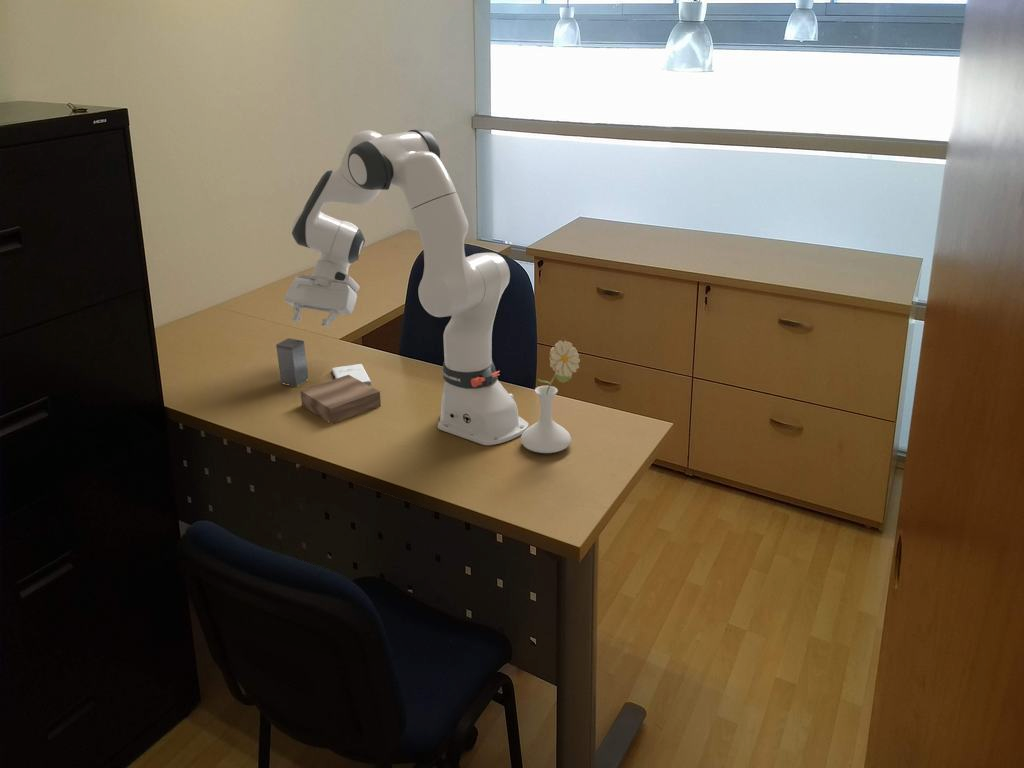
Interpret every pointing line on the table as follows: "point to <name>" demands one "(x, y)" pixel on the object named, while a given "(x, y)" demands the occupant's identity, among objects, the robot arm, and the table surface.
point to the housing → (292, 361)
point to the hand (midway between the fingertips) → (310, 323)
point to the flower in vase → (546, 431)
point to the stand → (340, 398)
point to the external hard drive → (352, 372)
